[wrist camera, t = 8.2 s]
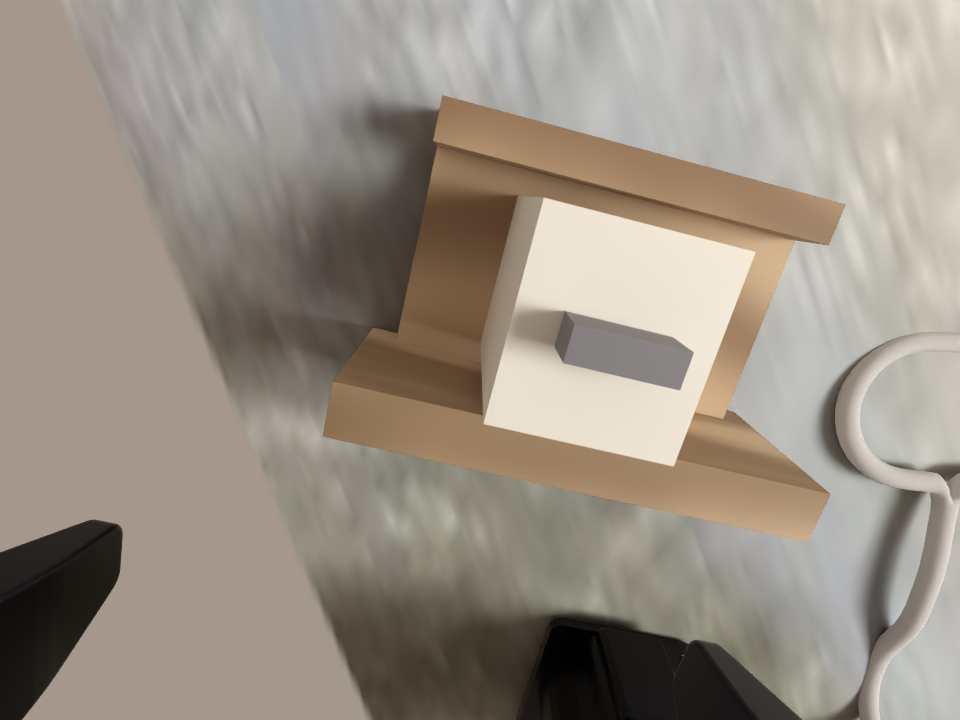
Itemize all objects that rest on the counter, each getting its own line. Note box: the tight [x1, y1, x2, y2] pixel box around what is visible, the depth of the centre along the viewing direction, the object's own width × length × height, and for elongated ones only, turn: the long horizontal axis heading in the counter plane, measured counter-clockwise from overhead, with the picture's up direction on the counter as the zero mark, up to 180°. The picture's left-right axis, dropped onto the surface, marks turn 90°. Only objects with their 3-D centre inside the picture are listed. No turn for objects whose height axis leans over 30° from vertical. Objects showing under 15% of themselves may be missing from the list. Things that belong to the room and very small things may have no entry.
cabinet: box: [481, 195, 756, 466], centre depth 15 cm, size 5×4×8 cm
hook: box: [835, 332, 960, 720], centre depth 21 cm, size 7×9×20 cm
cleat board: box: [323, 95, 846, 542], centre depth 17 cm, size 9×14×6 cm, turn 76°
